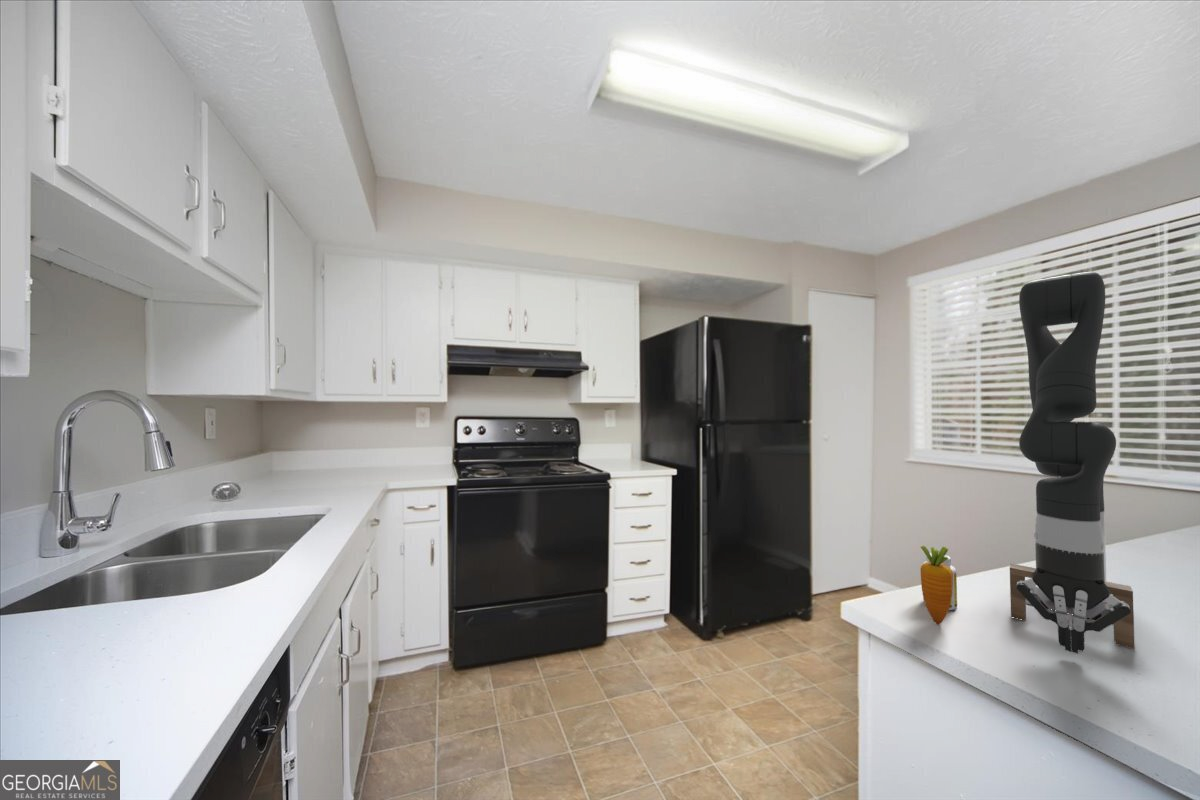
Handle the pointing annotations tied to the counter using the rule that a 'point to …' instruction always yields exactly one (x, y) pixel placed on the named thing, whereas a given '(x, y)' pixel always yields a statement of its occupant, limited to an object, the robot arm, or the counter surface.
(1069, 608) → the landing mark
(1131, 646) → the bridge
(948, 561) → the supplement bottle
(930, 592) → the carrot
